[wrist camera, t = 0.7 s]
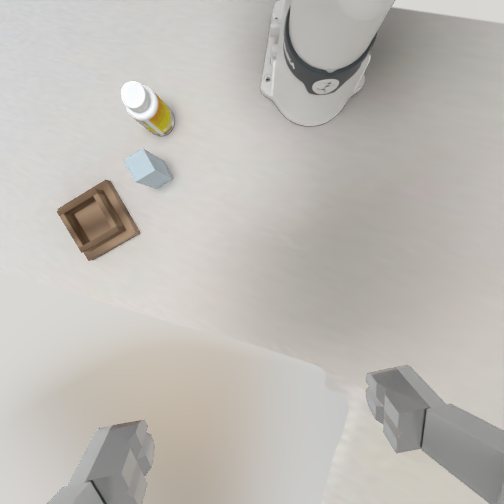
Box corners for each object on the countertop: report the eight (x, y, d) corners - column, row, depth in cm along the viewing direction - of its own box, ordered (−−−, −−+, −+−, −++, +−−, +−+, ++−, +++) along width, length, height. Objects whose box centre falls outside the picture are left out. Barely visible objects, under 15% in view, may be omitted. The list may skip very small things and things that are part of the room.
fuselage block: (146, 170, 49) (123, 160, 41) (163, 160, 48) (143, 148, 40) (156, 188, 49) (135, 181, 41) (173, 178, 48) (155, 170, 41)
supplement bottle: (173, 105, 47) (147, 72, 37) (176, 135, 47) (152, 111, 37) (145, 108, 47) (112, 77, 37) (149, 138, 48) (118, 115, 38)
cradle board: (63, 209, 50) (46, 208, 47) (110, 181, 49) (96, 177, 45) (93, 259, 51) (79, 262, 47) (140, 233, 50) (129, 233, 46)
